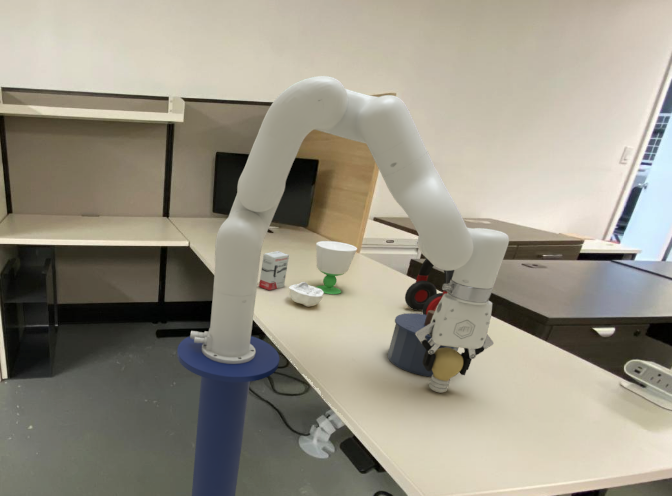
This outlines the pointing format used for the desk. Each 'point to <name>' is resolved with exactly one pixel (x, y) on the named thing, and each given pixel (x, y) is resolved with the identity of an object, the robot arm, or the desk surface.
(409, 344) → the pot
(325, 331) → the desk surface
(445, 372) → the light bulb
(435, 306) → the headphones
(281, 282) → the ink box
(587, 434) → the desk surface
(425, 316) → the pot lid
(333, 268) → the cup
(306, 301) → the cell model
